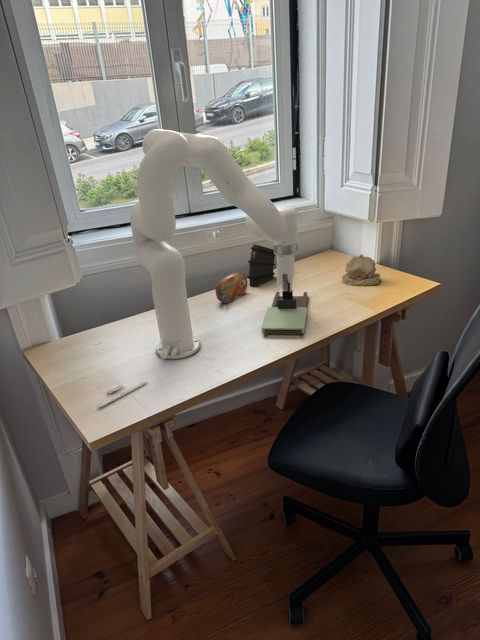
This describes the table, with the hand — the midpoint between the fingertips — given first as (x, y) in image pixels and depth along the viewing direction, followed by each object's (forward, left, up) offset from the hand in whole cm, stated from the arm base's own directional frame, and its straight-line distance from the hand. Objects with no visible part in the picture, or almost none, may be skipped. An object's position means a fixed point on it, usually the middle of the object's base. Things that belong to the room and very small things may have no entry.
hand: (287, 302), depth 164 cm
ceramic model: (+30, -24, -4) cm, 39 cm away
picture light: (-49, +40, -4) cm, 63 cm away
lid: (-9, 0, -3) cm, 10 cm away
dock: (-2, 0, -4) cm, 5 cm away
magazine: (+30, +13, -4) cm, 33 cm away
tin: (+13, +22, -4) cm, 26 cm away
